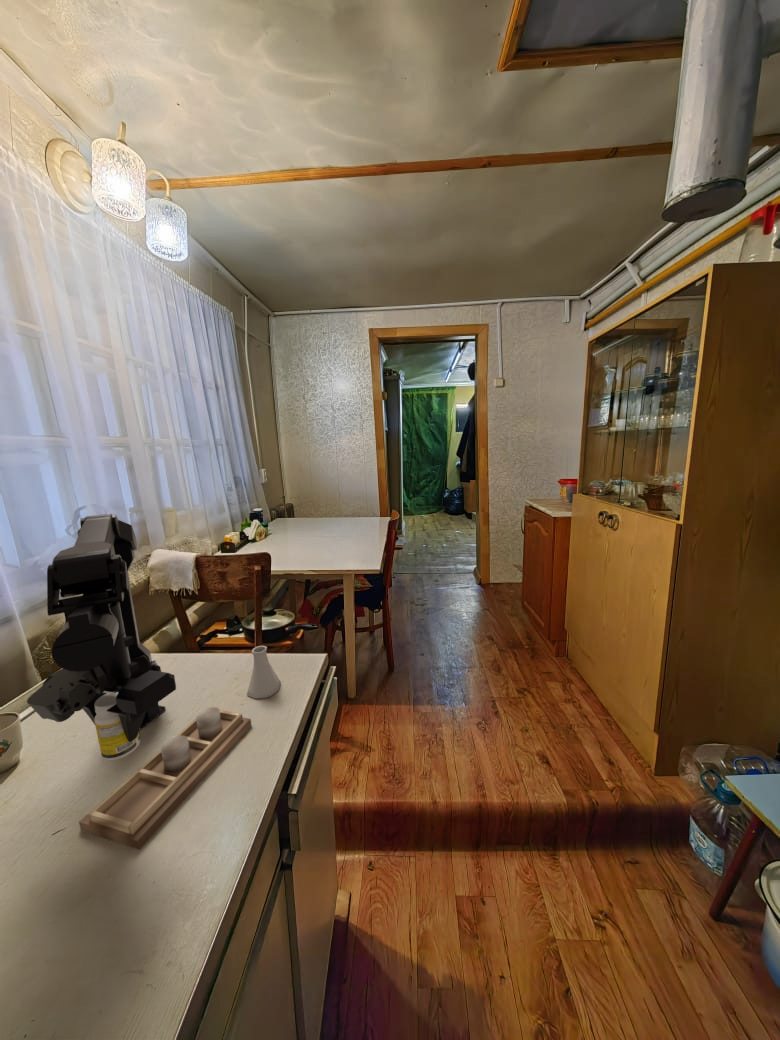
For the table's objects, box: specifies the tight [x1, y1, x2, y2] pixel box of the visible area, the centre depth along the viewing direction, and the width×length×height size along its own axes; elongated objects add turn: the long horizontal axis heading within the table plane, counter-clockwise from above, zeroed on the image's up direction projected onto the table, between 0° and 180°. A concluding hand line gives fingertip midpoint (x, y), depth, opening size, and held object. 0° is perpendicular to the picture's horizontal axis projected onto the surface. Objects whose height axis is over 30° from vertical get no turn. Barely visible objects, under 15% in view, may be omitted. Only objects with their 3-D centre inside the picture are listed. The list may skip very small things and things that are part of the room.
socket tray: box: [78, 706, 252, 851], centre depth 64 cm, size 11×24×5 cm, turn 164°
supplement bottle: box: [94, 692, 141, 761], centre depth 55 cm, size 5×5×8 cm
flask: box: [246, 645, 282, 699], centre depth 85 cm, size 7×7×10 cm
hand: (119, 736), depth 56 cm, fingers closed on supplement bottle, 5 cm apart
